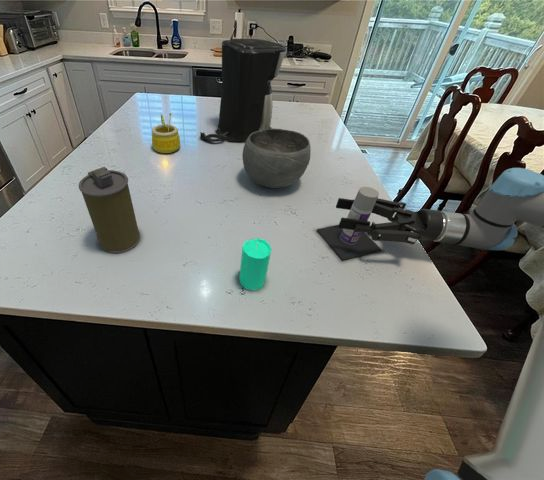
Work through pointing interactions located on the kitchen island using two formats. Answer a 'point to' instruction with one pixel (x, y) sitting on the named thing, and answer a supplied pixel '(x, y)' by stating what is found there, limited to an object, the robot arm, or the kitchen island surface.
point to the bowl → (276, 157)
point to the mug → (165, 137)
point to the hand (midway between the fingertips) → (338, 212)
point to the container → (359, 212)
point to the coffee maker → (246, 87)
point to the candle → (254, 263)
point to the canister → (110, 209)
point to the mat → (345, 250)
